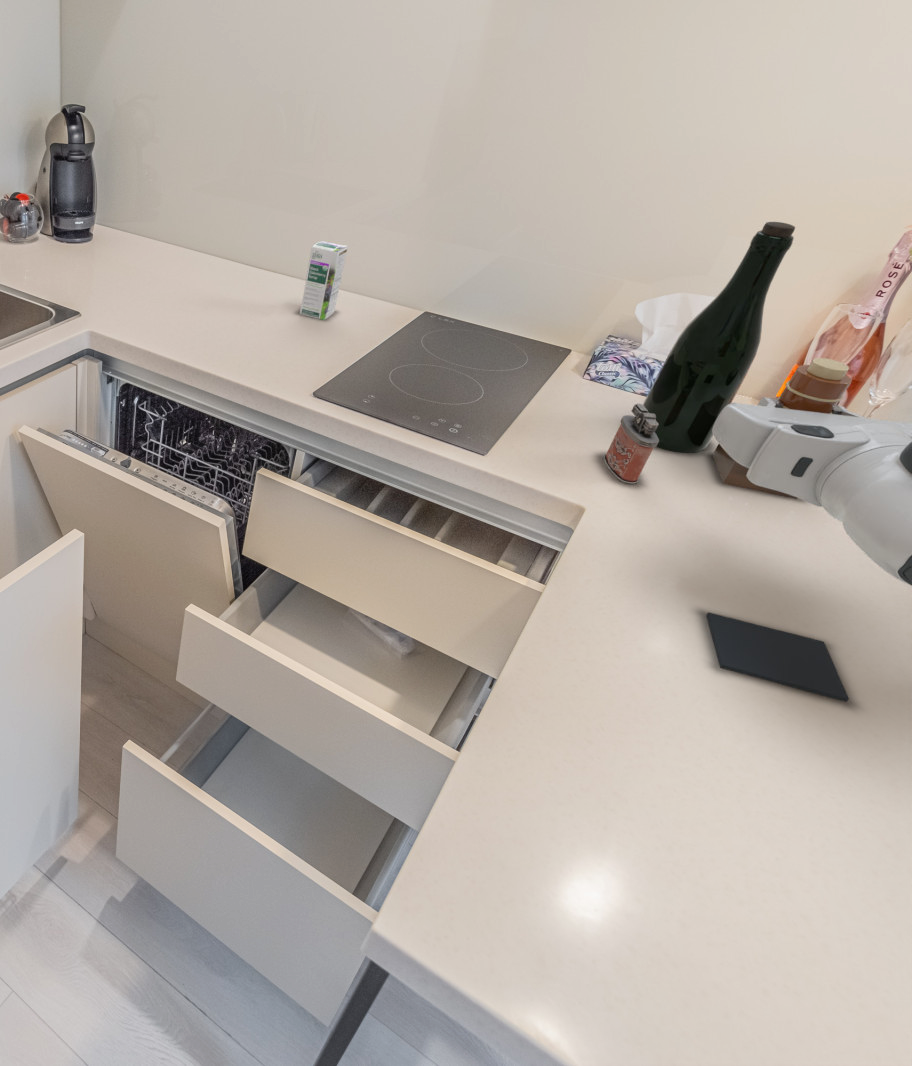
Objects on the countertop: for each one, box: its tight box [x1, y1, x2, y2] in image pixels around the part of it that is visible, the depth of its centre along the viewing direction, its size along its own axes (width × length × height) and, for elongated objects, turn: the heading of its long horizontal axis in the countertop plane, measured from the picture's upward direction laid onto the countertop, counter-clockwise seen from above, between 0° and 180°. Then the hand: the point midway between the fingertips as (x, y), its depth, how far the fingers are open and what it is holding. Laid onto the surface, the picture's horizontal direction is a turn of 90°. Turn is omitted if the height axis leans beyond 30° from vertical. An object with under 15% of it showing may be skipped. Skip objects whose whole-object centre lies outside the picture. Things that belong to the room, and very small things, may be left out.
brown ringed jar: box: [776, 357, 852, 414], centre depth 85 cm, size 5×5×11 cm
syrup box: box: [299, 240, 349, 321], centre depth 157 cm, size 6×6×14 cm
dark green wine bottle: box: [641, 221, 796, 454], centre depth 111 cm, size 10×10×33 cm
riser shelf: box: [712, 443, 798, 500], centre depth 110 cm, size 9×9×6 cm
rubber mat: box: [706, 611, 850, 703], centre depth 82 cm, size 11×9×1 cm
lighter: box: [602, 403, 659, 486], centre depth 109 cm, size 8×3×10 cm, turn 171°
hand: (796, 407), depth 86 cm, fingers closed on brown ringed jar, 5 cm apart
